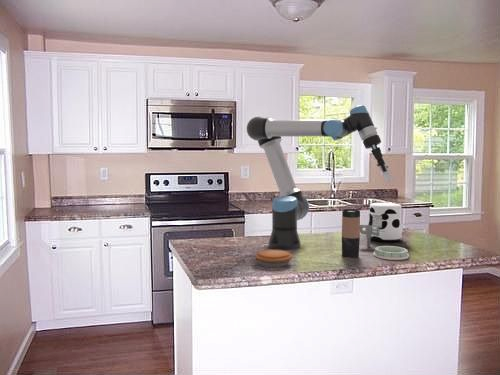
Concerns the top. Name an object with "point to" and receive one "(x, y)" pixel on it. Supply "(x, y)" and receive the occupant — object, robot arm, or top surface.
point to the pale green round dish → (391, 253)
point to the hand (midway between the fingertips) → (389, 180)
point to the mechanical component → (369, 232)
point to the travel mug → (350, 233)
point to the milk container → (386, 221)
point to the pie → (273, 258)
